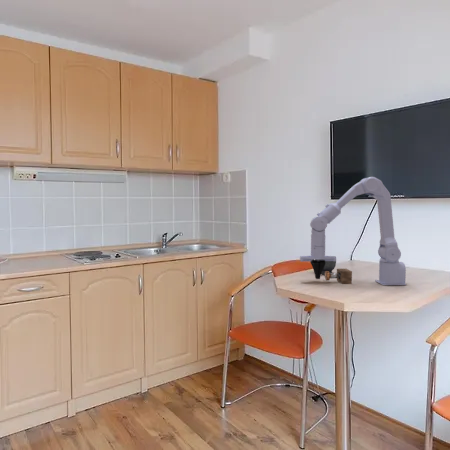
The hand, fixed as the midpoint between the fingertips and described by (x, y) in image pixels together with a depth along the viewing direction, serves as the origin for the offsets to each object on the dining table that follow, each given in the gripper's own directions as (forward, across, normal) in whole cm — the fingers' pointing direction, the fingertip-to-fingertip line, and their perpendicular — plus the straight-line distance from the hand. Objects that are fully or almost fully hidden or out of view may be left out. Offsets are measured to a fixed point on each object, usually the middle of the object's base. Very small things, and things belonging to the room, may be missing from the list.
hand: (317, 278), depth 161 cm
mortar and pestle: (+2, -8, -20) cm, 21 cm away
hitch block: (+1, -11, 0) cm, 11 cm away
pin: (+1, -7, 0) cm, 7 cm away
